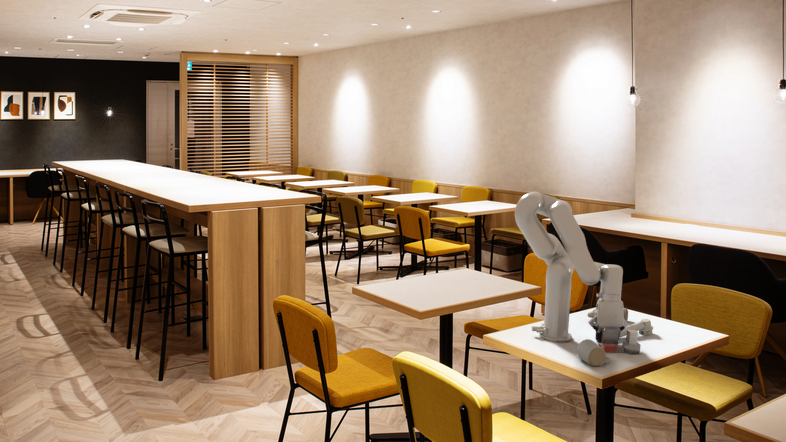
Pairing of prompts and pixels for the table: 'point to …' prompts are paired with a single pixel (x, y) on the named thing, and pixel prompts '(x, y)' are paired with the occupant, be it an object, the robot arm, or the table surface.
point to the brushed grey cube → (609, 335)
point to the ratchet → (625, 344)
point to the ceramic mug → (592, 353)
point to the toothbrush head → (639, 328)
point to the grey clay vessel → (592, 314)
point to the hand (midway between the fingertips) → (607, 341)
